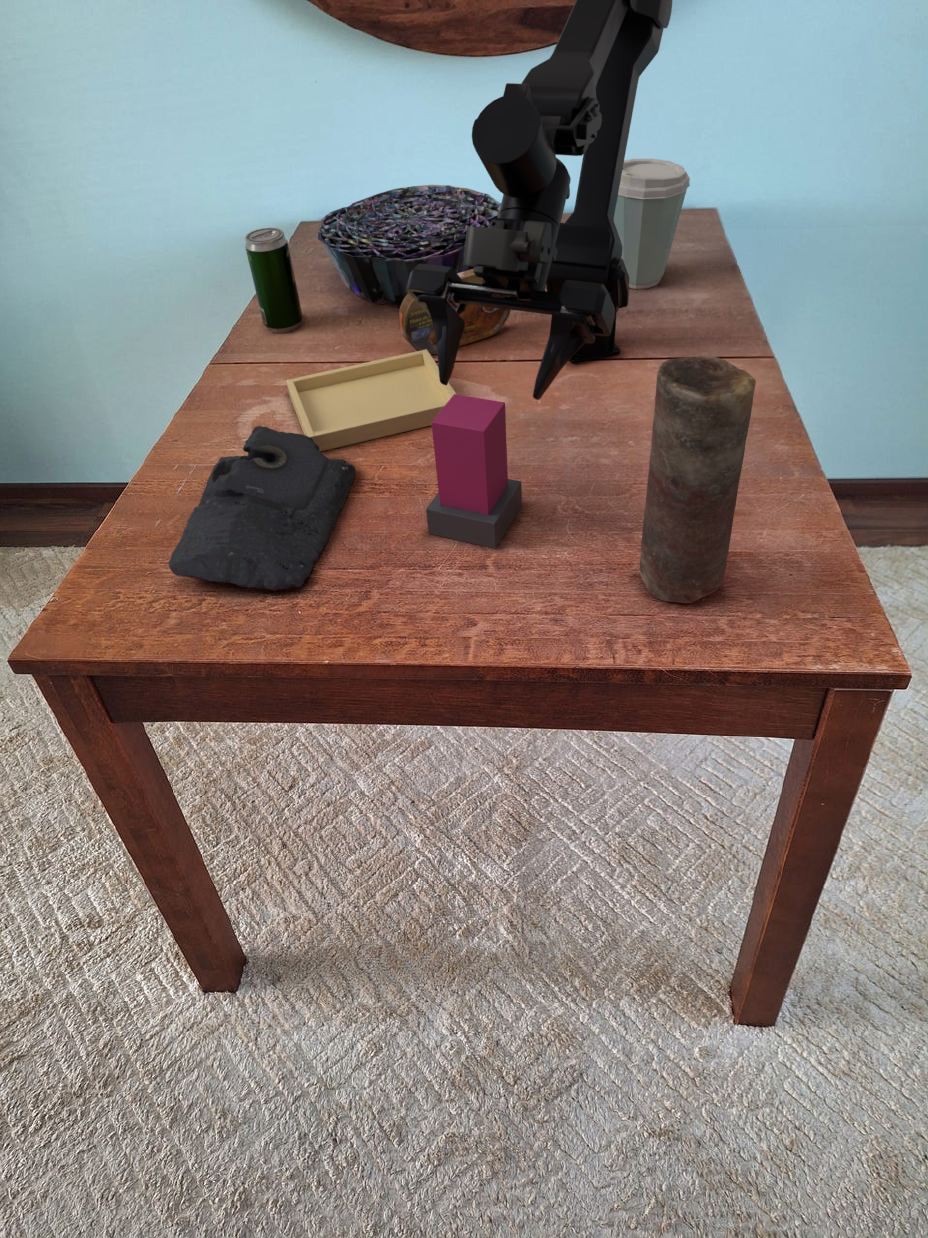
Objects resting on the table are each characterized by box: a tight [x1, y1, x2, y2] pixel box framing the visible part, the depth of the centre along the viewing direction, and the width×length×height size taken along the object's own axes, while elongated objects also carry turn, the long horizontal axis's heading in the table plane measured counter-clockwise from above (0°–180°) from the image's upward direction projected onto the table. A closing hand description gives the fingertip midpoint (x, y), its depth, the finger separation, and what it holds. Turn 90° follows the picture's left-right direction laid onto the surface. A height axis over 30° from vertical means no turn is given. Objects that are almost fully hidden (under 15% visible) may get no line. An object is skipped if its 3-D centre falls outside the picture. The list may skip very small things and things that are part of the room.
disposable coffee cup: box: [614, 158, 691, 290], centre depth 116 cm, size 11×11×15 cm
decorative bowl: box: [317, 184, 501, 308], centre depth 124 cm, size 26×28×10 cm
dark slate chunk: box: [168, 425, 357, 591], centre depth 85 cm, size 15×22×5 cm
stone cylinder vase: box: [639, 355, 757, 604], centre depth 70 cm, size 8×7×20 cm
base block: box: [425, 478, 523, 549], centre depth 84 cm, size 7×7×3 cm
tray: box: [285, 349, 457, 453], centre depth 100 cm, size 18×14×2 cm
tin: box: [398, 269, 511, 356], centre depth 108 cm, size 15×3×8 cm, turn 117°
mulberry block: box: [431, 393, 509, 515], centre depth 79 cm, size 5×5×9 cm
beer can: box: [244, 227, 304, 334], centre depth 114 cm, size 5×5×12 cm
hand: (488, 390), depth 80 cm, fingers open, 9 cm apart
